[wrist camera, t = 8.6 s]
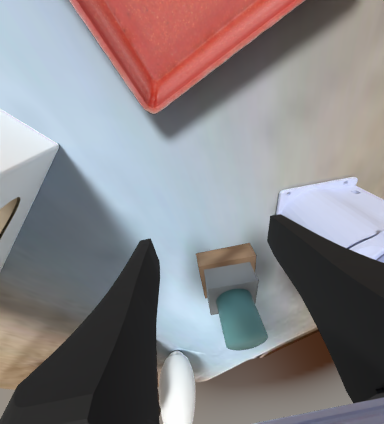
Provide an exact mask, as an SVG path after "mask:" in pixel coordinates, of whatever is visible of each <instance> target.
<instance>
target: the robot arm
mask: <svg viewBox="0 0 384 424" xmlns="http://www.w3.org/2000/svg"><path fill="white" fill-rule="evenodd" d="M357 180H358V179H357V178H356V177H349V178H344V179H338V180H333V181H328V182H322V183H317V184H312V185H307V186H301V187H296V188H291V189H285V190H282V191H280V193H279V198H278V204H277V211H276V215H273V216H270V223H269V231H268V239H267V241H268V244H269V246H270V248H271V250H272V252H273V254H274V256H275V257H276V259H277V260H278V262H279V263H280V265H281V266H282V268H283V269H284V271H285V272H286V274H287V275H288V277H289V278H290V280H291V281H292V283H293V284H294V286H295V287H296V289H297V291H298V292H299V294H300V295H301V297H302V299H303V301H304V303H305V305H306V306H307V308H308V310H309V312H310V314H311V316H312V318H313V320H314V322H315V324H316V326H317V328H318V330H319V332H320V334H321V336H322V338H323V340H324V342H325V344H326V346H327V348H328V350H329V352H330V355H331V357H332V359H333V361H334V363H335V365H336V368H337V370H338V373H339V375H340V377H341V379H342V382H343V384H344V386H345V389H346V391H347V393H348V395H349V396H350V398H351V400H352V401H353V404H348V405H343V406H338V407H334V408H328V409H324V410H318V411H314V412H308V413H303V414H299V415H293V416H288V417H283V418H278V419H273V420H268V421H263V422H259V423H253V424H384V200H383V199H381V198H379V197H377V196H375V195H373V194H371V193H369V192H368V191H366V190H364V189H362V188H360V187H358V186H356V183H357ZM288 192H289V193H288ZM287 193H288V194H287ZM159 283H160V265H159V259H158V257H157V254H156V251H155V249H154V246H153V244H152V241H151V239H146V240H141V241H140V242H139V244H138V245H137V247H136V249H135V251H134V252H133V254H132V256H131V258H130V259H129V261H128V263H127V264H126V266H125V268H124V269H123V271H122V272H121V274H120V275H119V277H118V278H117V280H116V281H115V283H114V284H113V286H112V287H111V289H110V290H109V291H108V293H107V294H106V295H105V297H104V298H103V299H102V300H101V302H100V303H99V304H98V305H97V307H96V308H95V309H94V310H93V311H92V313H91V314H90V315H89V316H88V317H87V318H86V319H85V321H84V322H83V323H82V324H81V325H80V326H79V327H78V328H77V329H76V330H75V332H74V333H73V334H72V335H71V336H70V337H69V338H68V339H67V340H66V341H65V342H64V343H63V344H62V345H61V346H60V347H59V348H58V349H57V350H56V351H55V352H54V353H53V354H52V355H51V356H50V357H49V358H47V359H46V360H45V361H44V362H43V363H42V364H41V365H40V366H39V367H38V368H37V369H35V370H34V371H33V372H32V373H31V374H30V375H29V376H28V377H27V378H26V379H25V380H23V381H22V382H21V383H20V384H19V385H18V386H17V388H16V390H15V392H14V394H13V396H12V398H11V400H10V401H9V404H8V405H7V407H6V409H5V411H4V413H3V415H2V417H1V419H0V424H159V410H158V390H157V358H156V318H157V306H158V294H159Z"/></svg>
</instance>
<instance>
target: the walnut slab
mask: <svg viewBox="0 0 384 424" xmlns="http://www.w3.org/2000/svg"><path fill="white" fill-rule="evenodd" d="M196 256H197V262H198V267H199V272H200V277H201V281H202V286H203V290H204V295H205V298H207V291H206V283H205V275H204V270H205V269H211V268H216V267H222V266H228V265H234V264H240V263H246V262H250V263H251V266H252V268H253V270H254V272H255V266H256V254H255V252H254V250H253V248H252V247H251V245H250V243H247V244H242V245H237V246H232V247H227V248H222V249H217V250H211V251H206V252H201V253H196Z"/></svg>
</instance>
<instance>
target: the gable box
mask: <svg viewBox="0 0 384 424" xmlns="http://www.w3.org/2000/svg"><path fill="white" fill-rule="evenodd" d="M58 149H59V145H58V143H56V142H54V141H53V140H51V139H49V138H48V137H46V136H45V135H43V134H41V133H40V132H38V131H36V130H35V129H33V128H31V127H30V126H28V125H26V124H25V123H23V122H22V121H20V120H18V119H17V118H15V117H13V116H12V115H10V114H8V113H7V112H5V111H3V110H2V109H0V272H1V269H2V267H3V265H4V263H5V261H6V259H7V257H8V255H9V252H10V250H11V248H12V246H13V244H14V242H15V240H16V238H17V236H18V233H19V231H20V229H21V227H22V225H23V223H24V221H25V219H26V217H27V214H28V212H29V210H30V208H31V206H32V204H33V202H34V200H35V198H36V195H37V193H38V191H39V189H40V187H41V185H42V183H43V181H44V178H45V176H46V174H47V172H48V170H49V168H50V166H51V164H52V162H53V159H54V157H55V155H56V153H57V151H58Z"/></svg>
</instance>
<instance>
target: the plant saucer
mask: <svg viewBox="0 0 384 424" xmlns="http://www.w3.org/2000/svg"><path fill="white" fill-rule="evenodd" d="M69 1H70V3H71V4H72V6H73V7H74V9H75V10H76V12H77V13H78V15H79V16H80V17H81V19H82V20H83V21H84V23H85V24H86V26H87V27H88V29H89V30H90V32H91V33H92V35H93V36H94V37H95V39H96V40H97V42H98V44H99V45H100V47H101V48H102V49H103V51H104V52H105V54H106V55H107V56H108V57H109V59H110V61H111V62H112V64H113V66H114V67H115V68H116V70H117V71H118V72H119V74H120V75H121V77H122V78H123V80H124V81H125V83H126V84H127V86H128V87H129V89H130V90H131V92H132V93H133V94H134V96H135V97H136V99H137V100H138V102H139V103H140V104H141V106H142V107H143V108H144V110H146V111H148V112H149V113H152V114H157V113H159V112H160V111H162V110H163V109H164V108H166V107H167V106H168V105H169V104H170V103H172V102H173V101H174V100H176V99H177V98H178V97H180V96H181V95H182V94H184V93H185V92H186V91H188V90H189V89H190V88H191V87H193V86H194V85H195V84H197V83H198V82H199V81H201V80H202V79H203V78H204V77H206V76H207V75H208V74H210V73H211V72H212V71H213V70H215V69H216V68H218V67H219V66H221V65H222V64H223V63H224V62H226V61H227V60H228V59H230V58H231V57H232V56H233V55H234V54H236V53H237V52H238V51H240V50H241V49H242V48H244V47H245V46H246V45H248V44H249V43H250V42H252V41H253V40H254V39H255V38H257V37H258V36H259V35H260V34H262V33H263V32H264V31H266V30H267V29H269V28H270V27H272V26H273V25H274V24H276V23H277V22H278V21H279V20H281V19H282V18H283V17H284V16H286V15H287V14H288V13H290V12H291V11H292V10H293V9H295V8H296V7H297V6H299V5H300V4H302V3H303V2H304V1H305V0H69Z"/></svg>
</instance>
